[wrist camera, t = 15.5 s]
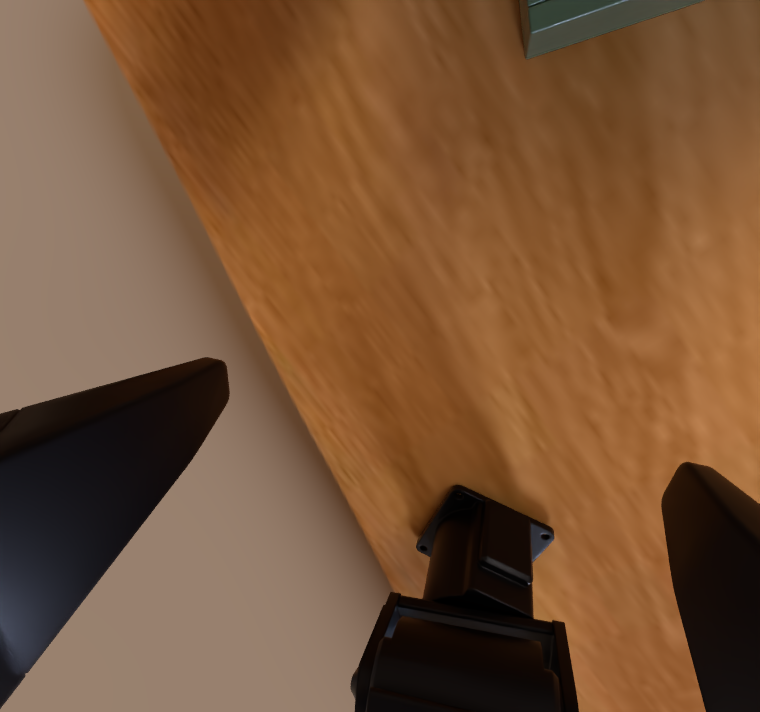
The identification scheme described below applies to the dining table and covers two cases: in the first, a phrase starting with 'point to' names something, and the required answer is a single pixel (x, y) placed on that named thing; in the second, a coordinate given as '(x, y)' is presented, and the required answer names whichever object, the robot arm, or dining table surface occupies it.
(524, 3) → the chest
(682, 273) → the dining table surface
